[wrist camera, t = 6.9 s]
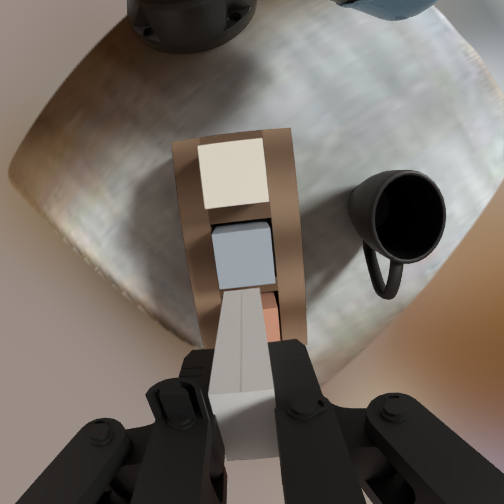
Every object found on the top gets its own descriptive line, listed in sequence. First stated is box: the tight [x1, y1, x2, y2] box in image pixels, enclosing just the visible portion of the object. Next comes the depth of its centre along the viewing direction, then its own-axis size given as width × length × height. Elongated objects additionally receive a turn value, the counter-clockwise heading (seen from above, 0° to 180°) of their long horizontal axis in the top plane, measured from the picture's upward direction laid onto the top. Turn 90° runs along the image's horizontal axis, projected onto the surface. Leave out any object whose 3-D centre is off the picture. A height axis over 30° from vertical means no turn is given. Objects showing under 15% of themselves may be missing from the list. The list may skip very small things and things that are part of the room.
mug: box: [348, 170, 446, 300], centre depth 28 cm, size 8×12×10 cm
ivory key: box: [198, 138, 269, 209], centre depth 23 cm, size 4×4×7 cm
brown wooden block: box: [171, 128, 307, 349], centre depth 29 cm, size 20×10×7 cm, turn 6°
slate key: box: [212, 218, 275, 289], centre depth 26 cm, size 4×4×7 cm
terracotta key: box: [260, 291, 280, 342], centre depth 28 cm, size 4×4×7 cm
